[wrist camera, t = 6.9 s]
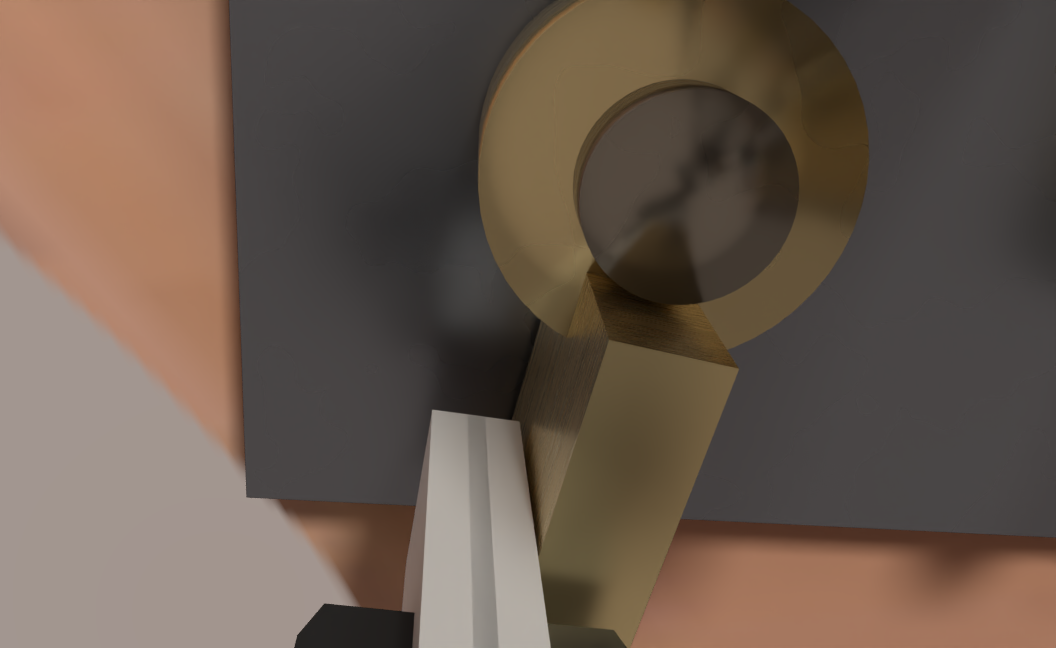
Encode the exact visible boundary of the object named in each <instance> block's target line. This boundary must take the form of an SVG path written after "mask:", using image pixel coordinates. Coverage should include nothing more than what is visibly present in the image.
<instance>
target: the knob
mask: <svg viewBox="0 0 1056 648" xmlns="http://www.w3.org/2000/svg"><path fill="white" fill-rule="evenodd" d="M868 166H869V137H868V127H867V122H866V116H865V111H864V105H863V102H862V99H861V96H860V93H859V90H858V87H857V84H856V82H855V80H854V78H853V76H852V74H851V72H850V70H849V68H848V66H847V64H846V62H845V60H844V58H843V56H842V55H841V54H840V52H839V51H838V49H837V48H836V46H835V45H834V44H833V42H832V41H831V39H830V38H829V37H828V36H827V35H826V34H825V33H824V32H823V31H822V29H821V28H820V27H819V26H818V25H817V24H816V23H815V22H814V21H813V20H812V19H811V18H810V17H808V16H807V15H806V14H804V13H803V12H802V11H801V10H799V9H798V8H797V7H795V6H794V5H793V4H792V3H790V2H788V1H787V0H556V1H554V2H553V3H552V4H550V5H549V6H547V7H546V8H545V9H543V10H542V11H541V12H540V13H539V14H538V15H537V16H536V17H535V18H534V19H533V20H531V21H530V22H529V23H528V24H527V25H526V26H525V27H524V29H523V30H522V31H521V32H520V34H519V35H518V36H517V37H516V38H515V40H514V41H513V42H512V43H511V45H510V46H509V48H508V50H507V51H506V53H505V54H504V56H503V58H502V59H501V61H500V62H499V64H498V67H497V69H496V71H495V73H494V75H493V78H492V80H491V82H490V84H489V87H488V91H487V94H486V97H485V100H484V104H483V108H482V114H481V120H480V125H479V145H478V192H479V203H480V213H481V218H482V222H483V226H484V230H485V235H486V238H487V241H488V244H489V246H490V249H491V251H492V254H493V257H494V259H495V261H496V263H497V265H498V267H499V269H500V270H501V272H502V274H503V276H504V278H505V280H506V281H507V283H508V284H509V285H510V287H511V288H512V289H513V291H514V292H515V293H516V295H517V296H518V297H519V299H520V300H521V301H522V302H523V303H524V304H525V305H526V306H527V307H528V308H529V309H530V310H531V311H532V312H533V313H534V314H535V316H537V317H538V318H539V319H540V320H541V321H540V325H539V328H538V332H537V335H536V339H535V342H534V346H533V349H532V353H531V356H530V359H529V363H528V366H527V370H526V373H525V377H524V380H523V384H522V387H521V391H520V394H519V397H518V401H517V404H516V408H515V411H514V415H513V418H512V421H519V422H520V429H521V437H522V444H523V451H524V458H525V466H526V473H527V480H528V487H529V494H530V502H531V509H532V516H533V523H534V531H535V538H536V545H537V552H538V559H539V567H540V574H541V581H542V588H543V596H544V603H545V610H546V617H547V623H550V624H560V625H570V626H580V627H590V628H600V629H610V630H614V631H615V632H616V633H617V635H618V636H619V638H620V639H621V640H622V642H623V643H624V644H625V646H626V647H627V648H630V646H631V644H632V641H633V639H634V636H635V634H636V631H637V629H638V626H639V623H640V621H641V618H642V616H643V613H644V611H645V608H646V606H647V603H648V600H649V598H650V595H651V593H652V590H653V588H654V585H655V583H656V580H657V577H658V575H659V572H660V570H661V567H662V565H663V562H664V560H665V557H666V554H667V552H668V549H669V547H670V544H671V542H672V539H673V537H674V534H675V532H676V529H677V526H678V524H679V521H680V519H681V516H682V514H683V511H684V509H685V506H686V503H687V501H688V498H689V496H690V493H691V491H692V488H693V486H694V483H695V480H696V478H697V475H698V473H699V470H700V468H701V465H702V463H703V460H704V458H705V455H706V452H707V450H708V447H709V445H710V442H711V440H712V437H713V435H714V432H715V429H716V427H717V424H718V422H719V419H720V417H721V414H722V412H723V409H724V406H725V404H726V401H727V399H728V396H729V394H730V391H731V389H732V386H733V383H734V381H735V378H736V376H737V373H738V371H739V368H738V366H737V365H736V363H735V362H734V360H733V358H732V357H731V355H730V354H729V352H728V349H731V348H734V347H736V346H738V345H740V344H742V343H744V342H747V341H749V340H751V339H753V338H755V337H757V336H759V335H760V334H762V333H763V332H765V331H767V330H768V329H770V328H772V327H773V326H775V325H776V324H778V323H779V322H780V321H782V320H783V319H784V318H786V317H787V316H788V315H789V314H791V313H792V312H793V311H795V310H796V309H797V308H798V307H799V306H800V305H801V304H802V303H803V302H804V301H805V300H806V299H807V298H808V297H809V296H810V295H811V294H812V293H813V292H814V291H815V290H816V289H817V287H818V286H819V285H820V284H821V283H822V281H823V280H824V279H825V278H826V276H827V275H828V274H829V273H830V271H831V270H832V268H833V266H834V265H835V263H836V262H837V260H838V259H839V257H840V256H841V254H842V252H843V250H844V248H845V246H846V244H847V242H848V240H849V238H850V236H851V234H852V232H853V230H854V227H855V224H856V222H857V219H858V216H859V213H860V210H861V207H862V203H863V199H864V194H865V189H866V185H867V178H868Z"/></svg>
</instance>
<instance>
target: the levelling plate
mask: <svg viewBox="0 0 1056 648" xmlns="http://www.w3.org/2000/svg"><path fill="white" fill-rule="evenodd" d="M554 1H556V0H229V12H230V41H231V69H232V98H233V126H234V154H235V183H236V211H237V239H238V268H239V296H240V325H241V353H242V381H243V410H244V438H245V466H246V494H247V497H250V498H269V499H289V500H309V501H329V502H350V503H370V504H390V505H410V506H416V502H417V497H418V491H419V485H420V479H421V473H422V467H423V461H424V455H425V450H426V444H427V438H428V432H429V426H430V420H431V414H432V410H439V411H446V412H454V413H461V414H469V415H476V416H484V417H490V418H497V419H505V420H512V418H513V415H514V411H515V408H516V404H517V401H518V397H519V394H520V391H521V387H522V384H523V380H524V377H525V373H526V370H527V366H528V363H529V359H530V356H531V353H532V349H533V346H534V342H535V339H536V335H537V332H538V328H539V325H540V321H541V320H540V319H539V318H538V317H537V316H535V314H534V313H533V312H532V311H531V310H530V309H529V308H528V307H527V306H526V305H525V304H524V303H523V302H522V301H521V300H520V299H519V297H518V296H517V295H516V293H515V292H514V291H513V289H512V288H511V287H510V285H509V284H508V283H507V281H506V280H505V278H504V276H503V274H502V272H501V270H500V269H499V267H498V265H497V263H496V261H495V259H494V257H493V254H492V251H491V249H490V246H489V244H488V241H487V238H486V235H485V230H484V226H483V222H482V218H481V213H480V203H479V192H478V145H479V125H480V120H481V114H482V108H483V104H484V100H485V97H486V94H487V91H488V87H489V84H490V82H491V80H492V78H493V75H494V73H495V71H496V69H497V67H498V64H499V62H500V61H501V59H502V58H503V56H504V54H505V53H506V51H507V50H508V48H509V46H510V45H511V43H512V42H513V41H514V40H515V38H516V37H517V36H518V35H519V34H520V32H521V31H522V30H523V29H524V27H525V26H526V25H527V24H528V23H529V22H530V21H531V20H533V19H534V18H535V17H536V16H537V15H538V14H539V13H540V12H541V11H542V10H543V9H545V8H546V7H547V6H549V5H550V4H552V3H553V2H554ZM787 1H788V2H790V3H792V4H793V5H794V6H795V7H797V8H798V9H799V10H801V11H802V12H803V13H804V14H806V15H807V16H808V17H810V18H811V19H812V20H813V21H814V22H815V23H816V24H817V25H818V26H819V27H820V28H821V29H822V31H823V32H824V33H825V34H826V35H827V36H828V37H829V38H830V39H831V41H832V42H833V44H834V45H835V46H836V48H837V49H838V51H839V52H840V54H841V55H842V56H843V58H844V60H845V62H846V64H847V66H848V68H849V70H850V72H851V74H852V76H853V78H854V80H855V82H856V84H857V87H858V90H859V93H860V96H861V99H862V102H863V105H864V111H865V116H866V122H867V127H868V137H869V166H868V178H867V185H866V189H865V194H864V199H863V203H862V207H861V210H860V213H859V216H858V219H857V222H856V224H855V227H854V230H853V232H852V234H851V236H850V238H849V240H848V242H847V244H846V246H845V248H844V250H843V252H842V254H841V256H840V257H839V259H838V260H837V262H836V263H835V265H834V266H833V268H832V270H831V271H830V273H829V274H828V275H827V276H826V278H825V279H824V280H823V281H822V283H821V284H820V285H819V286H818V287H817V289H816V290H815V291H814V292H813V293H812V294H811V295H810V296H809V297H808V298H807V299H806V300H805V301H804V302H803V303H802V304H801V305H800V306H799V307H798V308H797V309H796V310H795V311H793V312H792V313H791V314H789V315H788V316H787V317H786V318H784V319H783V320H782V321H780V322H779V323H778V324H776V325H775V326H773V327H772V328H770V329H768V330H767V331H765V332H763V333H762V334H760V335H759V336H757V337H755V338H753V339H751V340H749V341H747V342H744V343H742V344H740V345H738V346H736V347H734V348H731V349H728V352H729V354H730V355H731V357H732V358H733V360H734V362H735V363H736V365H737V366H738V368H739V371H738V373H737V376H736V378H735V381H734V383H733V386H732V389H731V391H730V394H729V396H728V399H727V401H726V404H725V406H724V409H723V412H722V414H721V417H720V419H719V422H718V424H717V427H716V429H715V432H714V435H713V437H712V440H711V442H710V445H709V447H708V450H707V452H706V455H705V458H704V460H703V463H702V465H701V468H700V470H699V473H698V475H697V478H696V480H695V483H694V486H693V488H692V491H691V493H690V496H689V498H688V501H687V503H686V506H685V509H684V511H683V514H682V516H681V519H692V520H712V521H733V522H753V523H773V524H793V525H813V526H833V527H854V528H874V529H894V530H914V531H934V532H954V533H975V534H995V535H1015V536H1035V537H1055V538H1056V0H787Z"/></svg>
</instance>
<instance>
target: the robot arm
mask: <svg viewBox="0 0 1056 648" xmlns="http://www.w3.org/2000/svg"><path fill="white" fill-rule="evenodd" d="M294 648H627V647H626V646H625V644H624V643H623V642H622V640H621V639H620V638H619V636H618V635H617V633H616V632H615V631H614V630H610V629H600V628H590V627H580V626H570V625H560V624H550V623H547V617H546V610H545V603H544V596H543V588H542V581H541V574H540V567H539V559H538V552H537V545H536V538H535V531H534V523H533V516H532V509H531V502H530V494H529V487H528V480H527V473H526V466H525V458H524V451H523V444H522V437H521V429H520V422H519V421H512V420H505V419H497V418H490V417H484V416H476V415H469V414H461V413H454V412H446V411H439V410H432V414H431V420H430V426H429V432H428V438H427V444H426V450H425V455H424V461H423V467H422V473H421V479H420V485H419V491H418V497H417V502H416V508H415V514H414V520H413V526H412V532H411V538H410V544H409V549H408V555H407V561H406V569H405V580H404V592H403V604H402V611H393V610H383V609H373V608H363V607H354V606H344V605H334V604H324V605H323V606H322V607H321V608H320V610H319V611H318V612H317V613H316V614H315V615H314V616H313V618H312V619H311V620H310V621H309V622H308V624H307V625H306V626H305V627H304V628H303V629H302V631H301V632H300V633H299V634H298V635H297V639H296V643H295V647H294Z"/></svg>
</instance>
